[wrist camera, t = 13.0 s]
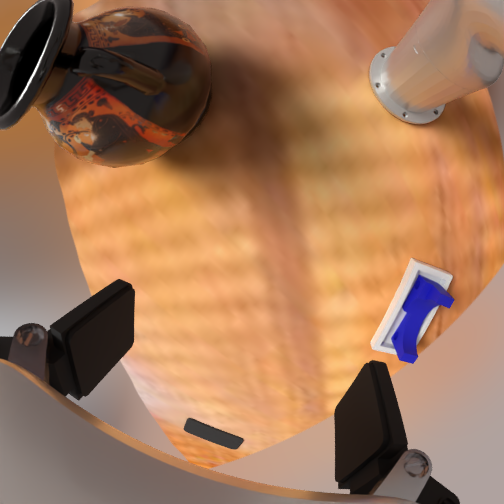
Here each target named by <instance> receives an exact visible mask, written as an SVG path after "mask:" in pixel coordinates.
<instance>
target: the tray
mask: <svg viewBox="0 0 504 504" xmlns="http://www.w3.org/2000/svg"><path fill="white" fill-rule="evenodd" d="M418 275H422V276H424V277H426V278H428V279H430V280H433V281H435V282H437V283H439V284H440V285H441V286H442V287H443V288H444V289H445V290H446V291H447V289H448V287H449V284H450V282H451V280H452V278H453V276H452V275H451V274H450V273H449V272H447V271H445V270H442V269H440V268H437V267H435V266H432V265H429V264H427V263H424V262H422V261H419V260H416V259H414V258H411V259H410V262H409V264H408V266H407V269H406V271H405V274H404V276H403V278H402V280H401V283H400V285H399V287H398V289H397V291H396V294H395V296H394V298H393V300H392V302H391V304H390V306H389V308H388V310H387V312H386V314H385V316H384V318H383V320H382V322H381V324H380V326H379V327H378V329H377V331H376V333H375V335H374V337H373V338H372V340H371V342H370V343H371V347H372V349H373V350H378V351H382V352H386V353H391V354H396V355H397V353H396V350H395V348H394V345H393V343H392V341H391V337H392V336H393V334H394V333H395V331H396V330H397V328H398V326H399V325H400V323H401V321H402V320H403V318H404V316H405V315H406V313H407V312H405V311H404V310H403V308H402V305H403V304H404V302H405V300H406V298H407V296H408V295H409V293H410V291H411V289H412V287H413V285H414V283H415V281H416V279H417V277H418ZM438 307H439V306H437V307H435V308H433V309H432V310H431V311H430V312H429V313H428V314H427V316H426V317H425V319H424V321H423V322H422V325H421V327H420V329H419V333H418V336H417V343H416V346H417V344H418V343H419V341H420V339H421V338H422V336H423V334H424V333H425V331H426V329H427V327H428V326H429V324H430V322H431V320H432V318H433V316H434V315H435V313H436V311H437V309H438Z"/></svg>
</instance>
